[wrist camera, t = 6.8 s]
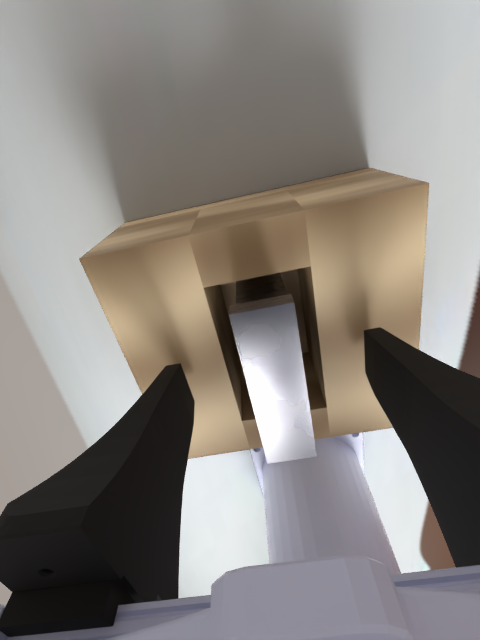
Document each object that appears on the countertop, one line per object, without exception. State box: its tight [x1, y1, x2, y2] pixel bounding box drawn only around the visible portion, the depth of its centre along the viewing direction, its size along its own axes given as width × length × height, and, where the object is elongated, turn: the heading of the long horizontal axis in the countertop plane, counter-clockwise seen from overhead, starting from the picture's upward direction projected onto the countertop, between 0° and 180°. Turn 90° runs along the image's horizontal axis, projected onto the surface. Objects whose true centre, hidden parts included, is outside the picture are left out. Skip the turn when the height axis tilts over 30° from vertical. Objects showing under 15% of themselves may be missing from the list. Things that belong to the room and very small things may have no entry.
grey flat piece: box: [229, 273, 317, 464], centre depth 15 cm, size 7×2×7 cm, turn 12°
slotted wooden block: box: [79, 168, 429, 459], centre depth 16 cm, size 11×12×6 cm
